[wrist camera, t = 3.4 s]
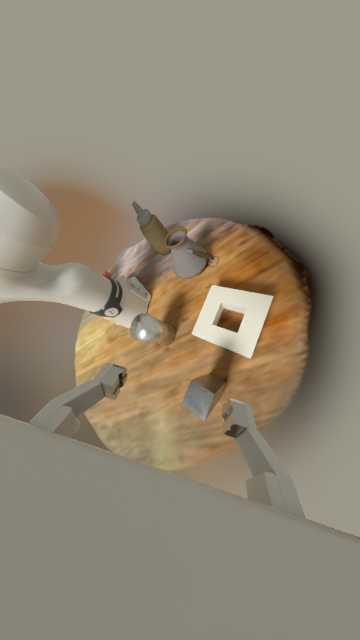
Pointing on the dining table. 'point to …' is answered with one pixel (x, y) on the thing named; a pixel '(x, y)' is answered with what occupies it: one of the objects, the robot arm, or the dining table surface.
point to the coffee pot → (186, 254)
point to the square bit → (204, 394)
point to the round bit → (152, 330)
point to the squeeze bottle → (152, 229)
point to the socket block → (237, 301)
